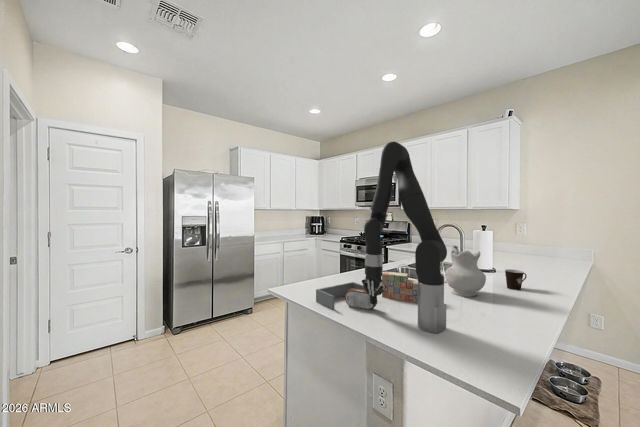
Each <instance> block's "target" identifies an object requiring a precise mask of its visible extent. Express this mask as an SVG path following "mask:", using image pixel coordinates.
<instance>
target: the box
mask: <svg viewBox="0 0 640 427" xmlns="http://www.w3.org/2000/svg"><path fill="white" fill-rule="evenodd" d="M351 288H355V289H361V290H365V288H364V286H363V284H362V283H361V284H360V283H357V282H354V281H351V282H346V283H342V284H337V285H332V286H327V287H322V288H316V289H315V302H316V303H317V304H320V305H322V306H323V307H326V308H328V309H330V310H333V311H334V310H335V299H337V298H341V297H345V294H346V292H347V291H348V290H349V289H351ZM367 288H368V287H367Z"/></svg>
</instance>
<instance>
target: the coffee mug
mask: <svg viewBox="0 0 640 427" xmlns="http://www.w3.org/2000/svg"><path fill="white" fill-rule="evenodd" d="M504 272H505V282H506V288H507V289H508V290H512V291H513V290H514V291H520V290H522V284H523V282H524V281H525V280H526V278H527V274H526V272H524V271H522V270H519V269H510V268H509V269H504ZM523 277H524V278H523Z"/></svg>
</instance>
